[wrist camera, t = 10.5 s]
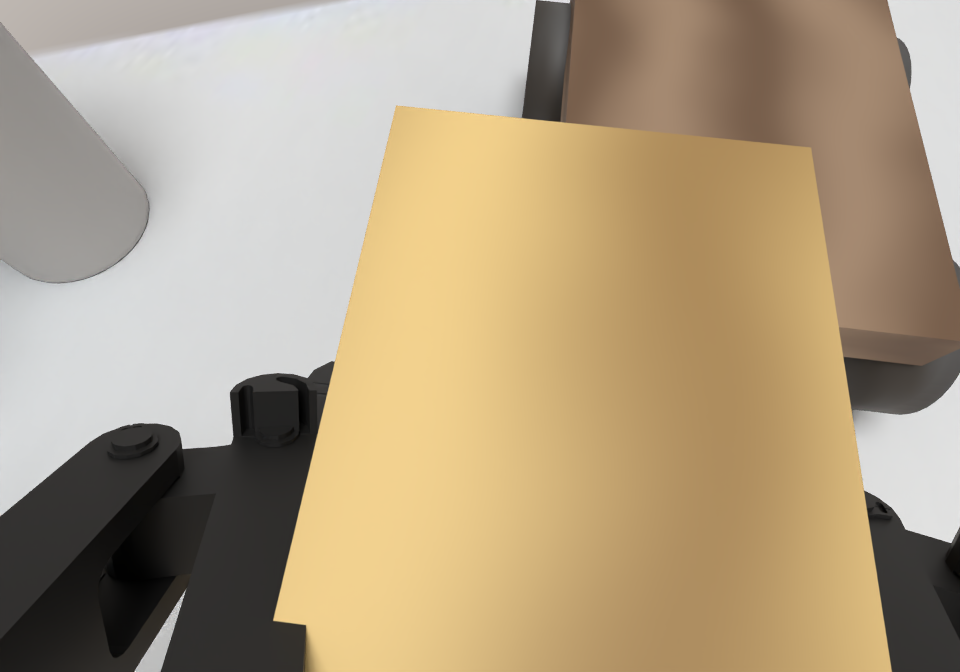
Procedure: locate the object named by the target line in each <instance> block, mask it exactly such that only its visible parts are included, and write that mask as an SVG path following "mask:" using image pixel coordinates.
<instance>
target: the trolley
mask: <svg viewBox="0 0 960 672" xmlns="http://www.w3.org/2000/svg"><path fill="white" fill-rule="evenodd" d="M910 84H911V60H910V55H909V52H908V49H907V47H906V46H905V44H904V43H903V42H902V41H901V40H900V39H898V38H897V37H896V33H895V29H894V26H893V22H892V18H891V14H890V10H889V6H888V2H887V0H570V4H569V3H559V2H550V1H540V0H536V6H535V15H534V23H533V31H532V39H531V48H530V56H529V64H528V73H527V81H526V89H525V98H524V106H523V115H522V118H524V119H534V120H544V121H553V122H563V123H573V124H583V125H593V126H603V127H613V128H623V129H632V130H642V131H652V132H662V133H672V134H682V135H692V136H702V137H712V138H721V139H731V140H741V141H751V142H761V143H771V144H781V145H791V146H800V147H810V148H811V151H812V157H813V164H814V170H815V177H816V183H817V190H818V196H819V202H820V209H821V215H822V222H823V228H824V235H825V241H826V248H827V254H828V261H829V267H830V274H831V280H832V287H833V293H834V300H835V306H836V313H837V319H838V326H839V332H840V339H841V345H842V352H843V358H844V365H845V371H846V378H847V384H848V391H849V397H850V404H851V409H855V410H864V411H872V412H880V413H889V414H899V415H902V414H910V413H914V412H918V411H920V410H922V409H924V408H926V407H928V406H930V405H931V404H933V403H934V402H935V401H937V400H938V399H939V398H940V397H941V396H942V395H943V394H944V393H945V392H946V391H947V390H948V389H949V388H950V387H951V385H952V384H953V382H954V381H955V380H956V378H957V377H958V375H959V373H960V267H959V266H958V265H957V263H956V262H954V261H953V260H952V256H951V252H950V248H949V244H948V240H947V236H946V232H945V228H944V224H943V220H942V216H941V212H940V208H939V204H938V200H937V196H936V192H935V188H934V184H933V180H932V176H931V173H930V169H929V165H928V161H927V157H926V153H925V149H924V145H923V141H922V137H921V133H920V129H919V125H918V121H917V117H916V113H915V109H914V105H913V101H912V97H911V93H910Z"/></svg>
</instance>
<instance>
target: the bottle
mask: <svg viewBox="0 0 960 672" xmlns="http://www.w3.org/2000/svg"><path fill="white" fill-rule="evenodd" d="M148 215H149V204H148V199H147V196H146V193H145V190H144V189H143V188H142V187H141V185H140V184H139V183H138V182H137V181H136V179H135V178H134V177H133V176H132V175H131V173H130V172H129V171H128V170H127V169H126V168H125V166H124V165H123V164H122V163H121V162H120V161H119V159H118V158H117V157H116V156H115V155H114V153H113V152H112V151H111V150H110V149H109V148H108V146H107V145H106V144H105V143H104V142H103V140H102V139H101V138H100V137H99V136H98V135H97V133H96V132H95V131H94V130H93V129H92V127H91V126H90V125H89V124H88V123H87V122H86V121H85V119H84V118H83V117H82V116H81V115H80V114H79V112H78V111H77V110H76V109H75V108H74V107H73V105H72V104H71V103H70V102H69V101H68V100H67V99H66V97H65V96H64V95H63V94H62V93H61V92H60V90H59V89H58V88H57V87H56V86H55V85H54V84H53V82H52V81H51V80H50V79H49V78H48V77H47V75H46V74H45V73H44V72H43V71H42V70H41V68H40V67H39V66H38V65H37V64H36V63H35V62H34V60H33V59H32V58H31V57H30V56H29V55H28V53H27V52H26V51H25V50H24V49H23V48H22V47H21V45H19V43H18V42H17V41H16V40H15V38H14V37H13V36H12V35H11V34H10V33H9V31H7V29H6V28H5V27H4V26H3V25H2V23H1V22H0V259H1V260H2V261H4V262H5V263H7V264H8V265H10V266H11V267H13V268H14V269H16V270H17V271H19V272H21V273H22V274H24V275H26V276H27V277H29V278H31V279H34V280H38V281H44V282H51V283H63V282H72V281H76V280H81V279H85V278H88V277H91V276H94V275H96V274H98V273H99V272H102V271H104V270H106V269H108V268H110V267H111V266H113V265H114V264H116V263H117V262H118V261H119V260H120V259H121V258H123V257H124V256H126V255H127V254H128V253H129V252H130V251H131V250H132V249H133V247H134V246H135V244H136V243H137V241H138V240H139V239H140V238H141V236H142V234H143V232H144V230H145V227H146V223H147V221H148Z"/></svg>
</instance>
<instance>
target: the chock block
mask: <svg viewBox="0 0 960 672" xmlns="http://www.w3.org/2000/svg"><path fill="white" fill-rule="evenodd" d="M273 621H279V622H287V623H294V624H302V625H306V652H305V672H892V670H891V663H890V657H889V650H888V644H887V637H886V631H885V624H884V618H883V611H882V605H881V598H880V592H879V585H878V579H877V572H876V566H875V559H874V553H873V546H872V540H871V533H870V527H869V520H868V514H867V507H866V501H865V494H864V488H863V481H862V475H861V468H860V462H859V456H858V449H857V443H856V436H855V430H854V423H853V417H852V410H851V404H850V397H849V391H848V384H847V378H846V371H845V365H844V358H843V352H842V345H841V339H840V332H839V326H838V319H837V313H836V306H835V300H834V293H833V287H832V280H831V274H830V267H829V261H828V254H827V248H826V241H825V235H824V228H823V222H822V215H821V209H820V202H819V196H818V190H817V183H816V177H815V170H814V164H813V157H812V151H811V148H810V147H800V146H791V145H781V144H771V143H761V142H751V141H741V140H731V139H721V138H712V137H702V136H692V135H682V134H672V133H662V132H652V131H642V130H632V129H623V128H613V127H603V126H593V125H583V124H573V123H563V122H553V121H544V120H534V119H524V118H514V117H504V116H494V115H484V114H474V113H465V112H455V111H445V110H435V109H425V108H415V107H405V106H396V108H395V113H394V117H393V121H392V125H391V129H390V133H389V138H388V142H387V146H386V150H385V154H384V159H383V163H382V167H381V171H380V175H379V180H378V184H377V188H376V192H375V196H374V200H373V205H372V209H371V213H370V217H369V221H368V226H367V230H366V234H365V238H364V242H363V246H362V251H361V255H360V259H359V263H358V267H357V272H356V276H355V280H354V284H353V288H352V293H351V297H350V301H349V305H348V309H347V313H346V318H345V322H344V326H343V330H342V334H341V339H340V343H339V347H338V351H337V355H336V360H335V364H334V368H333V372H332V376H331V380H330V385H329V389H328V393H327V397H326V401H325V406H324V410H323V414H322V418H321V422H320V427H319V431H318V435H317V439H316V443H315V447H314V452H313V456H312V460H311V464H310V468H309V473H308V477H307V481H306V485H305V489H304V494H303V498H302V502H301V506H300V510H299V514H298V519H297V523H296V527H295V531H294V535H293V540H292V544H291V548H290V552H289V556H288V560H287V565H286V569H285V573H284V577H283V581H282V586H281V590H280V594H279V598H278V602H277V607H276V611H275V615H274V619H273Z"/></svg>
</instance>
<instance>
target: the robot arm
mask: <svg viewBox="0 0 960 672" xmlns="http://www.w3.org/2000/svg"><path fill="white" fill-rule="evenodd" d="M334 364H335V362H332V361H331V362H329V363H327V364H325V365H323V366H321V367H319V368H317V369H315V370H314V371H313V372H312V373H311V375H310V376H309V377H308V378H305V377H301V376H298V375H294V374H281V373H276V374H266V375H260V376H256V377H253V378H249V379H246V380H244V381H243V382H241V383H239V384H237V385H236V386H235V387H234V388H233V389H232V390H231V392H230V400H231V412H232V424H233V436H234V437H233V441H232V444H231V445H226V446H218V447H208V448H193V449H182V443H181V438H180V434H179V432H178V431H177V430H175V429H173V428H172V427H170V426H166V425H161V424H144V423H139V424H133V425H131V426H130V425H127V426H122V427H120V428H118V429H115V430H112V431H110V432H107V433H104V434H102V435H101V436H99V437H98V438H96V439H94V440H93V441H91V442H90V443H88V444H87V445H86V446H85V447H84V448H82V449H81V450H80V451H79V452H78V453H76V454H75V455H74V456H73V457H72V458H70V459H69V460H68V461H67V462H65V463H64V464H63V465H62V466H61V467H59V468H58V469H57V470H56V471H55V472H53V473H52V474H51V475H50V476H49V477H47V478H46V479H45V480H44V481H43V482H41V483H40V484H39V485H38V486H37V487H35V488H34V489H33V490H32V491H30V492H29V493H28V494H27V495H26V496H24V497H23V498H22V499H21V500H20V501H18V502H17V503H16V504H15V505H14V506H12V507H11V508H10V509H9V510H8V511H6V512H5V513H4V514H3V515H2V516H0V672H134V671H135V669H136V667H137V666H138V664H139V663H140V661H141V660H142V658H143V656H144V655H145V653H146V652H147V650H148V648H149V647H150V645H151V644H152V642H153V640H154V639H155V637H156V636H157V634H158V633H159V631H160V629H161V628H162V626H163V625H164V623H165V621H166V620H167V618H168V617H169V615H170V613H171V612H172V610H173V609H174V607H175V606H176V604H177V602H178V601H179V599H180V598H181V596H182V594H183V593H184V591H185V590H186V592H185V595H184V599H183V602H182V605H181V608H180V612H179V615H178V618H177V621H176V624H175V628H174V631H173V634H172V637H171V641H170V644H169V647H168V650H167V653H166V657H165V660H164V663H163V666H162V670H161V672H305V652H306V625H302V624H294V623H287V622H279V621H273V619H274V615H275V611H276V607H277V602H278V598H279V594H280V590H281V586H282V581H283V577H284V573H285V569H286V565H287V560H288V556H289V552H290V548H291V544H292V540H293V535H294V531H295V527H296V523H297V519H298V514H299V510H300V506H301V502H302V498H303V494H304V489H305V485H306V481H307V477H308V473H309V468H310V464H311V460H312V456H313V452H314V447H315V443H316V439H317V435H318V431H319V427H320V422H321V418H322V414H323V410H324V406H325V401H326V397H327V393H328V389H329V385H330V380H331V376H332V372H333V368H334ZM864 494H865V501H866V507H867V514H868V520H869V527H870V533H871V540H872V546H873V553H874V559H875V566H876V572H877V579H878V585H879V592H880V598H881V605H882V611H883V618H884V624H885V631H886V637H887V644H888V650H889V657H890V663H891V670H892V672H960V528H959V530H958V532H957V533H956V535H955V537H954V539H953V541H952V543H948V542H945V541H942V540H938V539H935V538H932V537H928V536H925V535H922V534H918V533H915V532H912V531H908V530H905V528H904V526H903V524H902V522H901V520H900V518H899V517H898V515H897V514H896V513H895V512H894V510H893V509H892V508H891V507H890V506H888V505H887V504H886V503H884V502H883V501H882V500H880V499H879V498H878V497H876V496H874V495H872V494H870V493H868V492H866V491H864ZM186 588H187V589H186Z"/></svg>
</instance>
